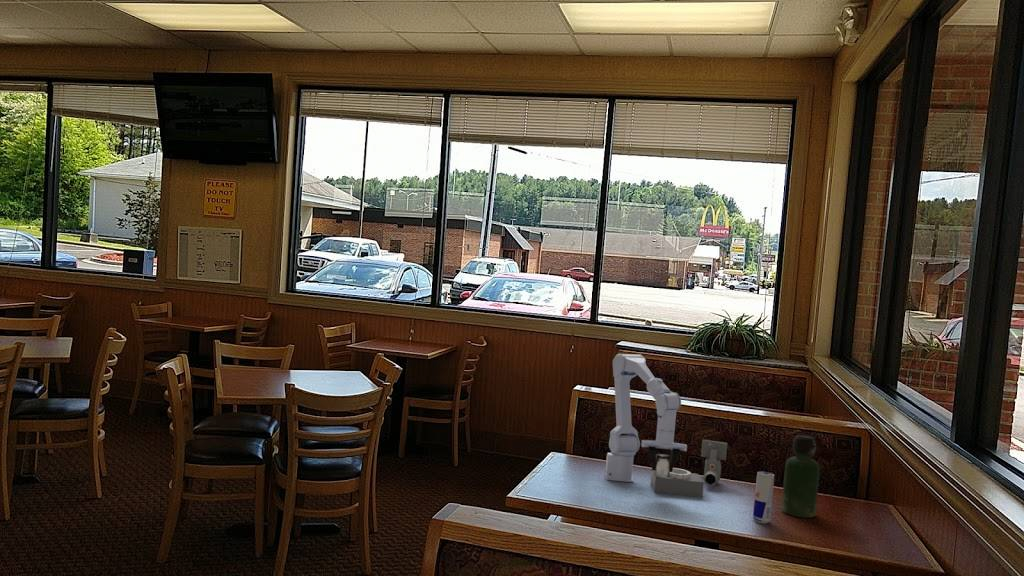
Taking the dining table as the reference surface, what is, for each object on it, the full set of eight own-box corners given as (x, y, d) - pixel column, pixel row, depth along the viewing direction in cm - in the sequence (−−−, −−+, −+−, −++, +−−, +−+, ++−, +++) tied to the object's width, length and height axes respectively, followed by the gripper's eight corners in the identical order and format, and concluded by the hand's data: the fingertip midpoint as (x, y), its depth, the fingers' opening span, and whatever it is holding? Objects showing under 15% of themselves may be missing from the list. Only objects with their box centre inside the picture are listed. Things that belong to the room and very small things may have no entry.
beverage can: (757, 517, 252) (762, 470, 251) (772, 522, 248) (777, 474, 248) (749, 520, 248) (754, 472, 248) (764, 525, 245) (769, 476, 244)
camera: (696, 486, 283) (700, 444, 283) (699, 479, 294) (702, 438, 294) (722, 490, 281) (726, 448, 280) (723, 482, 292) (727, 441, 292)
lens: (654, 476, 263) (656, 456, 263) (652, 472, 268) (654, 453, 268) (670, 478, 263) (672, 458, 263) (668, 474, 268) (669, 454, 268)
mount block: (654, 492, 271) (656, 473, 271) (650, 483, 282) (652, 465, 282) (702, 497, 270) (704, 477, 270) (696, 488, 281) (698, 469, 281)
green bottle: (780, 514, 257) (787, 436, 257) (781, 506, 267) (788, 431, 266) (815, 520, 254) (822, 441, 253) (815, 512, 264) (822, 436, 263)
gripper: (644, 429, 261) (641, 471, 262) (690, 434, 261) (686, 475, 261) (642, 425, 268) (638, 466, 269) (686, 429, 268) (682, 470, 268)
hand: (661, 470), depth 265 cm, fingers closed on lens, 5 cm apart
